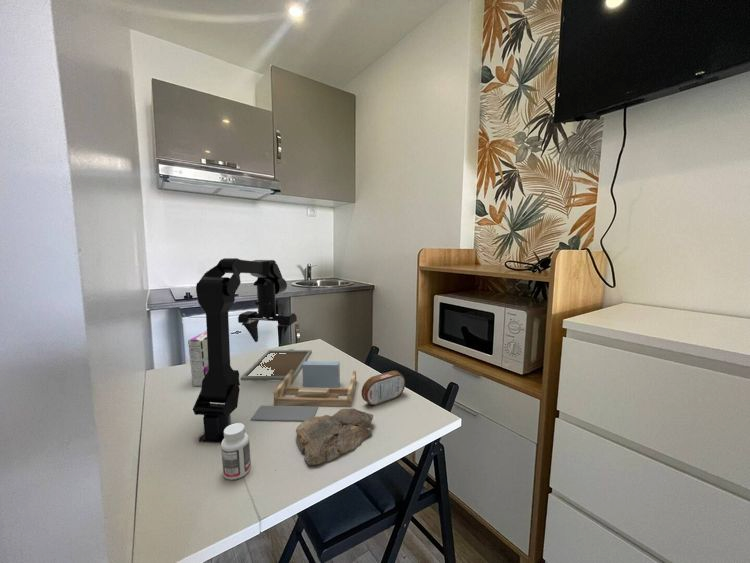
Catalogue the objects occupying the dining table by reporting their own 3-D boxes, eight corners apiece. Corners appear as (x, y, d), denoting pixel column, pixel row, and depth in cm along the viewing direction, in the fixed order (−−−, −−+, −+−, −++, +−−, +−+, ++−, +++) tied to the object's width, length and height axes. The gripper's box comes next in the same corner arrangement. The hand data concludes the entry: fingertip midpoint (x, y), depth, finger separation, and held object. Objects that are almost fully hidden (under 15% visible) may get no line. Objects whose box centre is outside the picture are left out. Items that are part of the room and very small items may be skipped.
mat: (311, 422, 81) (311, 420, 81) (250, 420, 82) (250, 419, 82) (317, 407, 88) (317, 406, 88) (261, 406, 89) (261, 405, 89)
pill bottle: (242, 458, 68) (239, 417, 67) (256, 468, 65) (253, 426, 63) (218, 473, 64) (214, 430, 62) (231, 485, 60) (228, 440, 59)
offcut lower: (336, 404, 91) (336, 398, 91) (294, 403, 92) (294, 397, 92) (338, 399, 94) (338, 393, 94) (297, 398, 95) (297, 392, 95)
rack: (350, 406, 89) (350, 393, 88) (274, 405, 90) (273, 392, 89) (356, 381, 105) (356, 370, 104) (291, 380, 106) (290, 369, 105)
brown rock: (359, 412, 87) (290, 435, 76) (359, 396, 86) (289, 417, 75) (386, 441, 75) (309, 472, 64) (387, 423, 74) (309, 451, 64)
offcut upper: (327, 397, 91) (326, 392, 91) (298, 396, 92) (297, 391, 92) (329, 393, 94) (328, 388, 94) (300, 392, 95) (300, 387, 94)
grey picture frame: (239, 377, 106) (270, 347, 136) (240, 381, 107) (271, 351, 136) (293, 377, 106) (313, 347, 136) (294, 382, 106) (313, 351, 136)
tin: (400, 391, 98) (400, 367, 97) (406, 395, 95) (407, 370, 94) (360, 405, 90) (360, 378, 89) (366, 410, 87) (366, 382, 86)
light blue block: (338, 388, 101) (338, 365, 100) (303, 387, 101) (302, 364, 100) (339, 383, 104) (339, 361, 103) (305, 383, 104) (304, 361, 103)
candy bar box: (210, 372, 113) (206, 330, 111) (223, 372, 113) (220, 330, 111) (191, 386, 102) (187, 339, 100) (205, 387, 102) (202, 340, 99)
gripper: (302, 294, 107) (304, 336, 109) (255, 292, 110) (257, 334, 112) (287, 300, 96) (289, 347, 98) (235, 298, 99) (238, 343, 101)
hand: (268, 342), depth 102 cm, fingers open, 9 cm apart
